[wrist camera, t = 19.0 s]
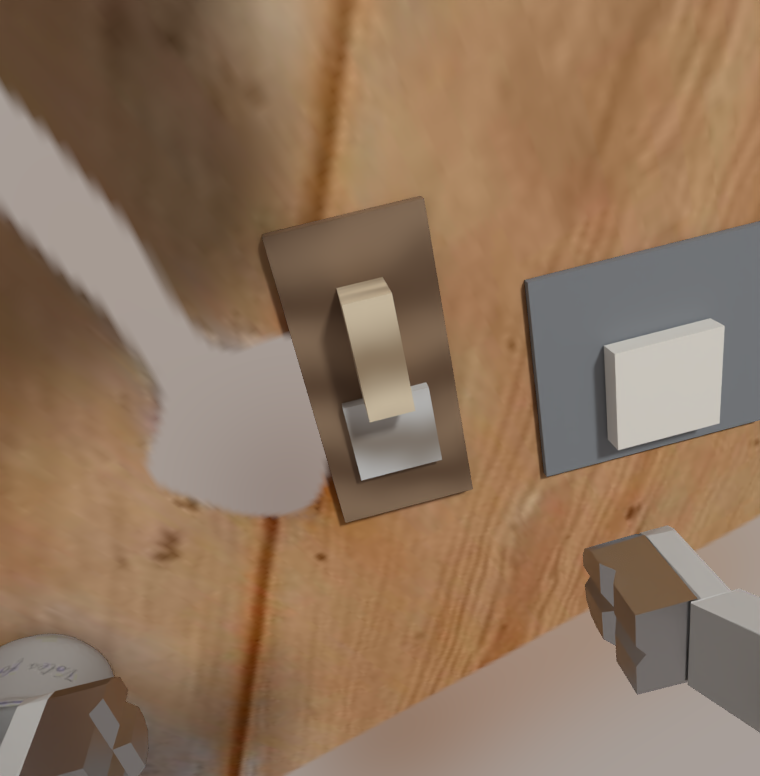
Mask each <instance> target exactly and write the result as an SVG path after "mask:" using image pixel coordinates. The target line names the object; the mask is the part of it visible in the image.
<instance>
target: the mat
mask: <svg viewBox="0 0 760 776" xmlns="http://www.w3.org/2000/svg"><path fill="white" fill-rule="evenodd" d="M524 281H525V291H526V301H527V311H528V320H529V330H530V340H531V350H532V360H533V370H534V379H535V389H536V399H537V409H538V419H539V429H540V438H541V448H542V458H543V468H544V473H545V475H546V476H547V477H548V476H551V475H555V474H559V473H563V472H566V471H570V470H574V469H578V468H581V467H585V466H589V465H593V464H596V463H600V462H604V461H608V460H612V459H615V458H619V457H623V456H627V455H630V454H634V453H638V452H642V451H645V450H649V449H653V448H657V447H660V446H664V445H668V444H672V443H675V442H679V441H683V440H687V439H690V438H694V437H698V436H702V435H705V434H709V433H713V432H717V431H720V430H724V429H728V428H732V427H736V426H739V425H743V424H747V423H751V422H754V421H758V420H760V221H759V222H755V223H751V224H747V225H743V226H739V227H735V228H731V229H727V230H723V231H719V232H715V233H711V234H707V235H703V236H699V237H695V238H691V239H687V240H683V241H679V242H675V243H671V244H667V245H663V246H659V247H655V248H651V249H647V250H643V251H639V252H635V253H631V254H627V255H623V256H619V257H615V258H611V259H607V260H603V261H599V262H595V263H591V264H587V265H583V266H579V267H575V268H571V269H567V270H563V271H559V272H555V273H551V274H547V275H543V276H539V277H535V278H531V279H527V280H524ZM709 318H711V319H713V320H715V321H717V322H719V323H720V324H722V325H724V326H725V330H724V349H723V368H722V386H721V405H720V423H719V424H715V425H712V426H708V427H704V428H700V429H697V430H693V431H689V432H685V433H681V434H678V435H674V436H670V437H666V438H663V439H659V440H655V441H651V442H648V443H644V444H640V445H636V446H633V447H629V448H625V449H621V450H617V449H616V448H615V446H614V445H613V444H612V443H611V442H610V441H609V440H608V431H607V408H606V385H605V362H604V345H608V344H612V343H616V342H620V341H624V340H627V339H631V338H635V337H639V336H643V335H647V334H651V333H655V332H659V331H662V330H666V329H670V328H674V327H678V326H682V325H686V324H690V323H694V322H697V321H701V320H705V319H709Z"/></svg>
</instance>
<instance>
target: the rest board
mask: <svg viewBox="0 0 760 776" xmlns="http://www.w3.org/2000/svg"><path fill="white" fill-rule="evenodd" d="M262 239H263V243H264V246H265V249H266V253H267V256H268V260H269V263H270V266H271V270H272V273H273V277H274V280H275V284H276V287H277V290H278V294H279V297H280V301H281V304H282V307H283V311H284V314H285V318H286V321H287V325H288V328H289V331H290V335H291V338H292V342H293V345H294V348H295V352H296V355H297V359H298V362H299V365H300V369H301V372H302V376H303V379H304V383H305V386H306V389H307V393H308V396H309V399H310V403H311V406H312V410H313V413H314V416H315V420H316V423H317V427H318V430H319V434H320V437H321V441H322V444H323V447H324V451H325V454H326V458H327V461H328V464H329V468H330V471H331V475H332V478H333V482H334V485H335V488H336V492H337V495H338V499H339V502H340V505H341V509H342V512H343V516H344V519H345V522H346V523H347V522H351V521H354V520H358V519H362V518H366V517H369V516H373V515H377V514H381V513H384V512H388V511H392V510H396V509H399V508H403V507H407V506H411V505H415V504H418V503H422V502H426V501H430V500H433V499H437V498H441V497H445V496H448V495H452V494H456V493H460V492H463V491H467V490H471V489H473V487H472V481H471V475H470V469H469V463H468V457H467V452H466V446H465V440H464V434H463V428H462V422H461V416H460V410H459V404H458V398H457V392H456V386H455V380H454V374H453V368H452V362H451V356H450V350H449V344H448V339H447V333H446V327H445V321H444V315H443V309H442V303H441V297H440V291H439V285H438V279H437V273H436V267H435V261H434V255H433V249H432V243H431V237H430V231H429V226H428V220H427V214H426V208H425V202H424V198H423V197H421V196H418V197H414V198H410V199H406V200H402V201H397V202H393V203H389V204H385V205H381V206H377V207H373V208H369V209H364V210H360V211H356V212H352V213H348V214H344V215H340V216H335V217H331V218H327V219H323V220H319V221H315V222H311V223H307V224H302V225H298V226H294V227H290V228H286V229H282V230H278V231H273V232H269V233H265V234H262ZM381 277H383V279H384V280H385V282H386V284H387V285H388V287H389V289H390V291H391V292H392V296H393V301H394V306H395V311H396V316H397V321H398V326H399V331H400V336H401V341H402V346H403V351H404V356H405V361H406V366H407V371H408V376H409V381H410V386H414V385H418V384H422V383H427V385H428V387H429V391H430V397H431V402H432V408H433V413H434V418H435V424H436V429H437V435H438V440H439V446H440V451H441V456H442V460H439V461H435V462H431V463H428V464H424V465H420V466H416V467H412V468H408V469H404V470H400V471H397V472H393V473H389V474H385V475H381V476H377V477H373V478H369V479H365V480H362V481H361V477H360V473H359V469H358V465H357V462H356V458H355V454H354V450H353V446H352V442H351V439H350V435H349V431H348V427H347V423H346V419H345V415H344V412H343V408H342V403H346V402H350V401H354V400H358V399H362V398H363V397H362V392H361V388H360V384H359V380H358V376H357V372H356V368H355V363H354V359H353V355H352V351H351V347H350V343H349V339H348V334H347V330H346V326H345V322H344V318H343V314H342V310H341V305H340V301H339V297H338V293H337V289H336V288H339V287H343V286H348V285H352V284H356V283H360V282H364V281H368V280H372V279H376V278H381Z"/></svg>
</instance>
